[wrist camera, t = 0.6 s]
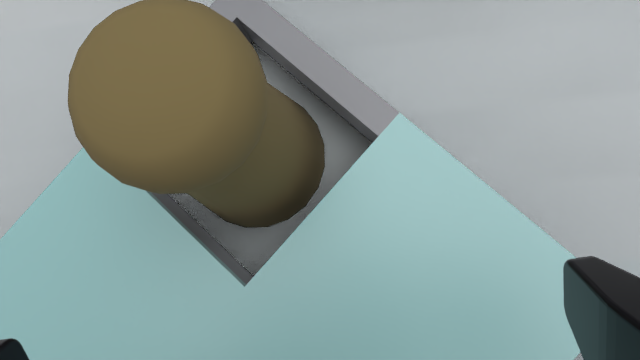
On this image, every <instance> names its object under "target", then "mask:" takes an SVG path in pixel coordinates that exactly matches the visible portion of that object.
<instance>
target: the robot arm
mask: <svg viewBox="0 0 640 360" xmlns="http://www.w3.org/2000/svg"><path fill="white" fill-rule="evenodd" d="M563 289H564V309H565V314H566V317H567V320H568V323H569V325H570V328H571V330H572V332H573V335H574V337H575V340H576V342H577V345H578V347H579V349H580V352H581V354H582V357H583V359H584V360H640V278H639V277H637V276H635V275H633V274H631V273H629V272H627V271H624V270H622V269H620V268H618V267H616V266H614V265H612V264H609V263H607V262H605V261H603V260H601V259H599V258H596V257H593V256H588V257H581V258H574V259H568V260H567V261H566V262H565V263H564V267H563ZM0 360H29V358H28V356H27V354H26V352H25V350H24V348H23V347H22V345H21V343H20V342H19V341H18V340H16V339H13V338H8V339H1V340H0Z"/></svg>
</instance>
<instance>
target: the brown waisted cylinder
mask: <svg viewBox="0 0 640 360" xmlns="http://www.w3.org/2000/svg"><path fill="white" fill-rule="evenodd" d="M68 107H69V112H70V116H71V119H72V123H73V127H74V131H75V134H76V137H77V138H78V140H79V141H80V143H81V144H82V146H83V147H84V149H85V150H86V152H87V153H88V155H89V156H90V158H91V159H92V160H93V161H94V162H95V163H96V164H97V165H98V166H100V167H101V168H102V169H104V170H105V171H106V172H108V173H109V174H110V175H112V176H113V177H114V178H116V179H117V180H118V181H120V182H121V183H123V184H126V185H129V186H132V187H136V188H139V189H142V190H146V191H149V192H153V193H157V194H177V193H188V194H189V195H191V196H192V197H193V198H195V199H196V200H197V201H199V202H200V203H201V204H203V205H204V206H206V207H207V208H208V209H210V210H211V211H212V212H214V213H215V214H217V215H218V216H219V217H221V218H222V219H223V220H225V221H227V222H230V223H233V224H237V225H240V226H243V227H268V226H271V225H274V224H277V223H279V222H282V221H285V220H288V219H289V218H290V217H292V216H293V215H294V214H296V213H297V212H298V211H300V210H301V209H302V208H303V207H305V206H306V204H307V203H308V202H309V200H310V199H311V197H312V196H313V194H314V193H315V191H316V190H317V189H318V187H319V183H320V180H321V177H322V173H323V170H324V167H325V161H324V143H323V140H322V137H321V134H320V131H319V129H318V126H317V124H316V123H315V121H314V120H313V119H312V118H311V116H310V115H309V114H308V112H307V111H306V110H305V109H304V108H303V107H302V106H300V105H299V104H297V103H296V102H294V101H293V100H292V99H290V98H289V97H287V96H286V95H284V94H283V93H281V92H280V91H279V90H277V89H276V88H274V87H273V86H271V85H270V84H268V83H267V80H266V77H265V74H264V71H263V69H262V66H261V63H260V60H259V57H258V54H257V53H256V51H255V49H254V48H253V46H252V45H251V44H250V42H249V41H248V40H247V39H246V37H245V36H244V35H243V33H242V32H241V31H240V30H239V28H238V27H237V26H236V25H235V24H234V23H233V22H231V21H230V20H228V19H227V18H225V17H223V16H222V15H220V14H219V13H217V12H216V11H214V10H212V9H211V8H209V7H207V6H205V5H203V4H201V3H197V2H192V1H188V0H143V1H139V2H136V3H134V4H131V5H129V6H127V7H124V8H122V9H119V10H117V11H115V12H113V13H112V14H111V15H110V16H108V17H107V18H106V19H104V20H103V21H102V22H101V23H99V24H98V25H97V26H96V27H94V28H93V30H92V31H91V33H90V34H89V35H88V37H87V38H86V40H85V41H84V42H83V44H82V45H81V47H80V48H79V49H78V52H77V54H76V57H75V60H74V63H73V66H72V69H71V71H70V74H69V89H68Z"/></svg>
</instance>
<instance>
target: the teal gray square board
mask: <svg viewBox="0 0 640 360" xmlns="http://www.w3.org/2000/svg"><path fill="white" fill-rule="evenodd" d="M209 8H211V9H212V10H214V11H216V12H217V13H219V14H220V15H222V16H223V17H225V18H227V19H228V20H230V21H231V22H233V23H234V24H235V25H236V26H237V27H238V28H239V30H240V31H241V32H242V33H243V35H244V36H245V37H246V39H247V40H248V41H249V42H250V43H251V42H252V41H253V42H254V43H255V44H257V45H258V46H259V47H260V48H261V49H262V50H264V51H265V52H266V53H267V54H268V55H270V56H271V57H272V58H273V59H274V60H275V61H277V62H278V63H279V64H280V65H281V66H283V67H284V68H285V69H286V70H287V71H288V72H290V73H291V74H292V75H293V76H294V77H296V78H297V79H298V80H299V81H300V82H301V83H303V84H304V85H305V86H306V87H307V88H309V89H310V90H311V91H312V92H313V93H314V94H316V95H317V96H318V97H319V98H320V99H322V100H323V101H324V102H325V103H326V104H327V105H329V106H330V107H331V108H332V109H333V110H335V111H336V112H337V113H338V114H339V115H340V116H342V117H343V118H344V119H345V120H346V121H348V122H349V123H350V124H351V125H352V126H353V127H355V128H356V129H357V130H358V131H359V132H361V133H362V134H363V135H364V136H365V137H366V138H368V139H369V140H370V141H371V142H372V144H371V145H370V146H369V147H368V149H367V150H366V151H365V152H364V153H363V154H362V155H361V156H360V158H359V159H358V160H357V161H356V162H355V163H354V164H353V165H352V167H351V168H350V169H349V170H348V171H347V172H346V173H345V174H344V176H343V177H342V178H341V179H340V180H339V181H338V182H337V183H336V185H335V186H334V187H333V188H332V189H331V190H330V191H329V192H328V194H327V195H326V196H325V197H324V198H323V199H322V200H321V201H320V203H319V204H318V205H317V206H316V207H315V208H314V209H313V210H312V212H311V213H310V214H309V215H308V216H307V217H306V218H305V219H304V221H303V222H302V223H301V224H300V225H299V226H298V227H297V228H296V230H295V231H294V232H293V233H292V234H291V235H290V236H289V237H288V238H287V240H286V241H285V242H284V243H283V244H282V245H281V246H280V247H279V249H278V250H277V251H276V252H275V253H274V254H273V255H272V256H271V258H270V259H269V260H268V261H267V262H266V263H265V264H264V265H263V267H262V268H261V269H260V270H259V271H258V272H257V273H256V274H255V276H254V277H253V276H252V275H251V274H250V273H249V272H248V271H247V270H246V269H245V268H244V267H243V266H242V265H241V264H240V263H238V262H237V261H236V260H235V259H234V258H233V257H232V256H231V255H230V254H229V253H228V252H227V251H226V250H225V249H224V248H223V247H222V246H221V245H220V244H219V243H218V242H217V241H216V240H215V239H214V238H212V237H211V236H210V235H209V234H208V233H207V232H206V231H205V230H204V229H203V228H202V227H201V226H200V225H199V224H198V223H197V222H196V221H195V220H194V219H193V218H192V217H191V216H190V215H189V214H188V213H187V212H185V211H184V210H183V209H182V208H181V207H180V206H179V205H178V204H177V203H176V202H175V201H174V200H173V199H172V198H171V197H170V196H169V195H168V194H157V193H153V192H149V191H146V190H142V189H139V188H136V187H132V186H129V185H126V184H123V183H121V182H120V181H118V180H117V179H116V178H114V177H113V176H112V175H110V174H109V173H108V172H106V171H105V170H104V169H102V168H101V167H100V166H98V165H97V164H96V163H95V162H94V161H93V160H92V159H91V158H90V156H89V155H88V153H87V152H86V150H85V149H84V147H83V148H82V149H81V150H80V151H79V153H78V154H77V155H76V156H75V157H74V158H73V159H72V160H71V161H70V163H69V164H68V165H67V166H66V167H65V168H64V169H63V170H62V171H61V173H60V174H59V175H58V176H57V177H56V178H55V179H54V180H53V181H52V183H51V184H50V185H49V186H48V187H47V188H46V189H45V190H44V191H43V193H42V194H41V195H40V196H39V197H38V198H37V199H36V200H35V201H34V203H33V204H32V205H31V206H30V207H29V208H28V209H27V210H26V211H25V213H24V214H23V215H22V216H21V217H20V218H19V219H18V220H17V221H16V223H15V224H14V225H13V226H12V227H11V228H10V229H9V230H8V231H7V233H6V234H5V235H4V236H3V237H2V238H1V239H0V340H1V339H8V338H13V339H16V340H18V341H19V342H20V343H21V345H22V347H23V348H24V350H25V352H26V354H27V356H28V358H29V360H574V359H575V358H576V357H577V355H578V354H579V353H580V349H579V347H578V345H577V342H576V340H575V337H574V335H573V332H572V330H571V328H570V325H569V323H568V320H567V317H566V314H565V309H564V289H563V267H564V263H565V262H566V261H567V260H568V259H574V258H576V257H575V256H573V255H572V254H571V253H570V252H569V251H567V250H566V249H565V248H564V247H562V246H561V245H560V244H559V243H558V242H556V241H555V240H554V239H553V238H551V237H550V236H549V235H548V234H547V233H545V232H544V231H543V230H542V229H541V228H539V227H538V226H537V225H536V224H534V223H533V222H532V221H531V220H530V219H528V218H527V217H526V216H525V215H524V214H522V213H521V212H520V211H519V210H517V209H516V208H515V207H514V206H513V205H511V204H510V203H509V202H508V201H506V200H505V199H504V198H503V197H502V196H500V195H499V194H498V193H497V192H496V191H494V190H493V189H492V188H491V187H489V186H488V185H487V184H486V183H485V182H483V181H482V180H481V179H480V178H478V177H477V176H476V175H475V174H474V173H472V172H471V171H470V170H469V169H468V168H466V167H465V166H464V165H463V164H461V163H460V162H459V161H458V160H457V159H455V158H454V157H453V156H452V155H450V154H449V153H448V152H447V151H446V150H444V149H443V148H442V147H441V146H440V145H438V144H437V143H436V142H435V141H433V140H432V139H431V138H430V137H429V136H427V135H426V134H425V133H424V132H422V131H421V130H420V129H419V128H418V127H416V126H415V125H414V124H413V123H412V122H410V121H409V120H408V119H407V118H405V117H404V116H403V115H402V114H401V113H399V112H398V111H397V110H396V109H394V108H393V107H392V106H391V105H390V104H388V103H387V102H386V101H385V100H384V99H382V98H381V97H380V96H379V95H377V94H376V93H375V92H374V91H373V90H371V89H370V88H369V87H368V86H366V85H365V84H364V83H363V82H362V81H360V80H359V79H358V78H357V77H356V76H354V75H353V74H352V73H351V72H349V71H348V70H347V69H346V68H345V67H343V66H342V65H341V64H340V63H338V62H337V61H336V60H335V59H334V58H332V57H331V56H330V55H329V54H328V53H326V52H325V51H324V50H323V49H321V48H320V47H319V46H318V45H317V44H315V43H314V42H313V41H312V40H311V39H309V38H308V37H307V36H306V35H304V34H303V33H302V32H301V31H300V30H298V29H297V28H296V27H295V26H293V25H292V24H291V23H290V22H289V21H287V20H286V19H285V18H284V17H283V16H281V15H280V14H279V13H278V12H276V11H275V10H274V9H273V8H272V7H270V6H269V5H268V4H267V3H265V2H264V1H263V0H215V1H214V3H213V4H212V5H211V6H210V7H209Z"/></svg>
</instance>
